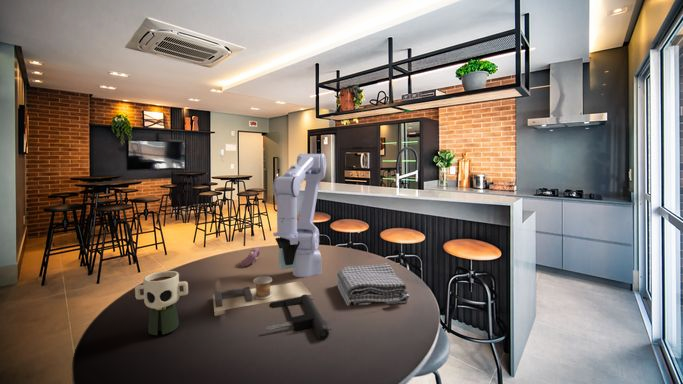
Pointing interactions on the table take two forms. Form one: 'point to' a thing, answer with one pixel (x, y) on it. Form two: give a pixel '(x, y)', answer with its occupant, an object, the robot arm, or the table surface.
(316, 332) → the door handle
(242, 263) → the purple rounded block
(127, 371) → the table surface
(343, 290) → the towel
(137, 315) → the table surface
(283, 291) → the winding board
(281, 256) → the pale blue block
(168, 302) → the character mug
